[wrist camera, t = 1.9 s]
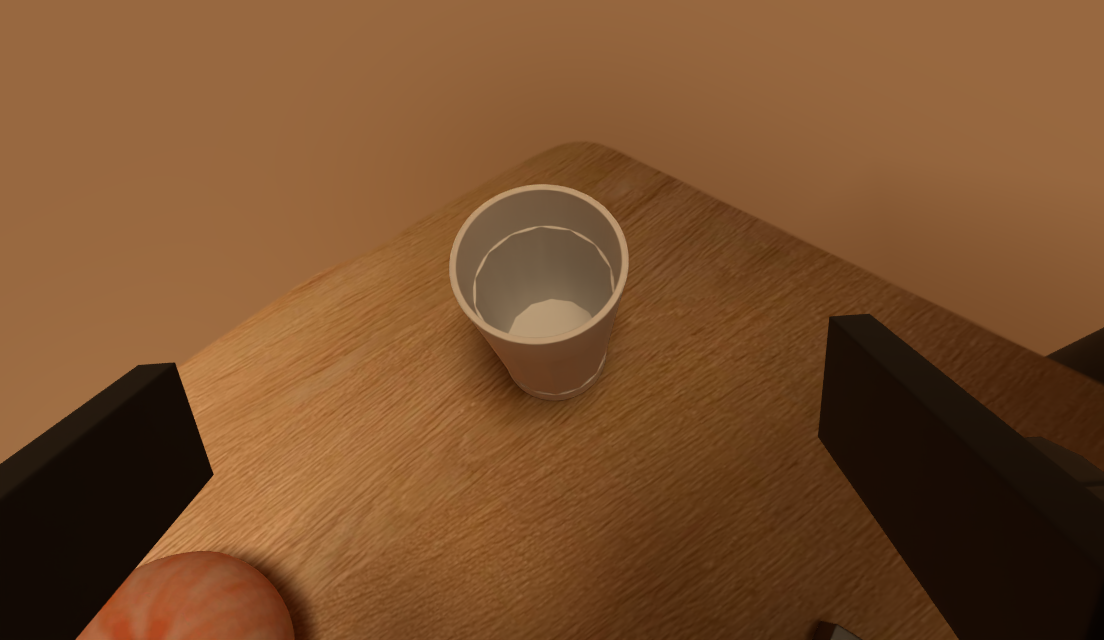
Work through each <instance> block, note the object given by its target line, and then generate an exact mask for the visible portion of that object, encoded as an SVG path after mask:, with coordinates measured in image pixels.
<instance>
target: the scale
mask: <svg viewBox="0 0 1104 640" xmlns="http://www.w3.org/2000/svg"><path fill="white" fill-rule="evenodd" d="M812 640H862V639H861V638H859V637H857V636H856V635H854V634H852V633H851V632H849V631H848V630H846V629H844V628H843V627H841V626H839V625H838V624H833V623H828V622H823V621H820V623H819V625H818V628H817V630H816V632H815V635H814V637H813V639H812Z"/></svg>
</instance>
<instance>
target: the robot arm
mask: <svg viewBox="0 0 1104 640" xmlns="http://www.w3.org/2000/svg"><path fill="white" fill-rule="evenodd" d="M818 438H819V439H820V440H821V442H822V443H823V445H824V446H825V448H826V449H827V450H828V452H829V453H830V455H831V456H832V458H833V459H834V460H835V462H836V463H837V465H838V466H839V468H840V469H841V471H842V472H843V473H844V475H845V476H846V478H847V479H848V481H849V482H850V483H851V485H852V486H853V488H854V489H855V491H856V492H857V493H858V495H859V496H860V498H861V499H862V501H863V502H864V504H865V505H866V506H867V508H868V509H869V511H870V512H871V514H872V515H873V516H874V518H875V519H876V521H877V522H878V524H879V525H880V526H881V528H882V529H883V531H884V532H885V534H886V535H887V537H888V538H889V539H890V541H891V542H892V544H893V545H894V547H895V548H896V549H897V551H898V552H899V554H900V555H901V557H902V558H903V559H904V561H905V562H906V564H907V565H908V567H909V568H910V570H911V571H912V572H913V574H914V575H915V577H916V578H917V580H918V581H919V582H920V584H921V585H922V587H923V588H924V590H925V591H926V592H927V594H928V595H929V597H930V598H931V600H932V601H933V603H934V604H935V605H936V607H937V608H938V610H939V611H940V613H941V614H942V615H943V617H944V618H945V620H946V621H947V623H948V624H949V625H950V627H951V628H952V630H953V631H954V633H955V634H956V636H957V637H958V638H959V640H1104V472H1103V471H1101V470H1100V469H1099V468H1097V467H1096V466H1095V465H1093V464H1092V463H1091V462H1089V461H1088V460H1087V459H1085V458H1084V457H1083V456H1081V455H1079V454H1076V453H1074V452H1072V451H1070V450H1068V449H1066V448H1064V447H1062V446H1059V445H1057V444H1055V443H1053V442H1051V441H1049V440H1047V439H1044V438H1042V437H1027V438H1024V437H1022V436H1021V435H1020V434H1019V433H1017V432H1016V431H1015V430H1014V429H1012V428H1011V427H1010V426H1009V425H1007V424H1006V423H1005V422H1004V421H1002V420H1001V419H1000V418H999V417H997V416H996V415H995V414H994V413H992V412H991V411H990V410H989V409H987V408H986V407H985V406H984V405H982V404H981V403H980V402H979V401H977V400H976V399H975V398H974V397H972V396H971V395H970V394H969V393H967V392H966V391H965V390H964V389H962V388H961V387H960V386H959V385H957V384H956V383H955V382H954V381H953V380H951V379H950V378H949V377H948V376H946V375H945V374H944V373H943V372H941V371H940V370H939V369H938V368H936V367H935V366H934V365H933V364H931V363H930V362H929V361H928V360H926V359H925V358H924V357H923V356H921V355H920V354H919V353H918V352H916V351H915V350H914V349H913V348H911V347H910V346H909V345H908V344H906V343H905V342H904V341H903V340H901V339H900V338H899V337H898V336H896V335H895V334H894V333H893V332H891V331H890V330H889V329H888V328H886V327H885V326H884V325H883V324H881V323H880V322H879V321H878V320H877V319H875V318H874V317H873V316H872V315H870V314H859V315H845V316H831V317H829V327H828V338H827V348H826V359H825V369H824V380H823V390H822V401H821V411H820V422H819V432H818ZM213 475H214V474H213V471H212V469H211V466H210V463H209V460H208V457H207V454H206V451H205V448H204V445H203V442H202V440H201V437H200V434H199V431H198V428H197V425H196V422H195V419H194V416H193V414H192V411H191V408H190V405H189V402H188V399H187V396H186V393H185V390H184V387H183V385H182V382H181V379H180V376H179V373H178V370H177V367H176V364H175V363H162V364H148V365H138V366H136V367H135V368H134V369H132V370H131V371H129V372H128V373H127V374H125V375H124V376H122V377H121V378H120V379H118V380H117V381H115V382H114V383H113V384H111V385H110V386H109V387H107V388H106V389H104V390H103V391H101V392H100V393H99V394H97V395H96V396H95V397H93V398H92V399H91V400H89V401H88V402H86V403H85V404H83V405H82V406H81V407H79V408H78V409H76V410H75V411H74V412H72V413H71V414H69V415H68V416H67V417H65V418H64V419H62V420H61V421H60V422H58V423H57V424H56V425H54V426H53V427H51V428H50V429H49V430H47V431H46V432H44V433H43V434H42V435H40V436H39V437H38V438H36V439H35V440H33V441H32V442H31V443H29V444H28V445H26V446H25V447H23V448H22V449H21V450H19V451H18V452H16V453H15V454H14V455H12V456H11V457H9V458H8V459H7V460H5V461H4V462H3V463H1V464H0V640H76V638H77V637H78V636H79V635H80V634H81V632H82V631H83V630H84V629H85V628H86V626H87V625H88V624H89V623H90V622H91V621H92V619H93V618H94V617H95V616H96V615H97V613H98V612H99V611H100V610H101V609H102V607H103V606H104V605H105V604H106V603H107V601H108V600H109V599H110V598H111V597H112V595H113V594H114V593H115V592H116V591H117V590H118V588H119V587H120V586H121V585H122V584H123V582H124V581H125V580H126V579H127V578H128V576H129V575H130V574H131V573H132V572H133V570H134V569H135V568H136V567H137V566H138V564H139V563H140V562H141V561H142V560H143V558H144V557H145V556H146V555H147V554H148V553H149V551H150V550H151V549H152V548H153V547H154V545H155V544H156V543H157V542H158V541H159V539H160V538H161V537H162V536H163V535H164V533H165V532H166V531H167V530H168V529H169V527H170V526H171V525H172V524H173V523H174V522H175V520H176V519H177V518H178V517H179V516H180V514H181V513H182V512H183V511H184V510H185V508H186V507H187V506H188V505H189V504H190V502H191V501H192V500H193V499H194V498H195V496H196V495H197V494H198V493H199V492H200V490H201V489H202V488H203V487H204V486H205V485H206V483H207V482H208V481H209V480H210V479H211V477H212V476H213Z"/></svg>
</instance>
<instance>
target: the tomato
mask: <svg viewBox="0 0 1104 640" xmlns="http://www.w3.org/2000/svg"><path fill="white" fill-rule="evenodd" d="M76 640H295V639H294V630H293V625H292V621H291V618H290V615H289V612H288V609H287V607H286V605H285V603H284V601H283V599H282V597H281V596H280V594H279V593H278V591H277V590H276V589H275V587H274V586H273V585H272V584H271V583H270V582H269V580H268V579H267V578H265V577H264V576H263V575H262V574H261V573H260V572H259V571H258V570H256V569H255V568H254V567H252V566H251V565H249V564H248V563H246V562H244V561H242V560H240V559H238V558H235V557H232V556H230V555H227V554H223V553H218V552H211V551H197V552H187V553H181V554H175V555H171V556H168V557H164V558H161V559H157V560H155V561H152V562H150V563H148V564H145V565H143V566H141V567H139V568H136V569H134V570H133V572H132V573H131V574H130V575H129V576H128V578H127V579H126V580H125V581H124V582H123V584H122V585H121V586H120V587H119V588H118V590H117V591H116V592H115V593H114V594H113V595H112V597H111V598H110V599H109V600H108V601H107V603H106V604H105V605H104V606H103V607H102V609H101V610H100V611H99V612H98V613H97V615H96V616H95V617H94V618H93V619H92V621H91V622H90V623H89V624H88V625H87V626H86V628H85V629H84V630H83V631H82V632H81V634H80V635H79V636H78V637H77V638H76Z"/></svg>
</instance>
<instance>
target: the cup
mask: <svg viewBox="0 0 1104 640" xmlns="http://www.w3.org/2000/svg"><path fill="white" fill-rule="evenodd" d="M628 267H629V256H628V248H627V244H626V240H625V237H624V234H623V232H622V230H621V228H620V226H619V224H618V223H617V221H616V220H615V218H614V217H613V216H612V215H611V213H610V212H609V211H608V210H607V209H606V208H605V207H604V206H602V205H601V204H600V203H599V202H597V201H596V200H594V199H593V198H591V197H590V196H588V195H586V194H584V193H582V192H579V191H577V190H574V189H571V188H567V187H563V186H557V185H545V184H540V185H529V186H523V187H518V188H515V189H511V190H508V191H506V192H503V193H501V194H499V195H497V196H495V197H493V198H492V199H490V200H488V201H487V202H485V203H484V204H483V205H481V206H480V207H479V208H478V209H477V210H476V211H474V212H473V213H472V214H471V216H470V217H469V218H468V219H467V220H466V222H465V223H464V224H463V226H462V227H461V229H460V231H459V232H458V234H457V236H456V239H455V241H454V244H453V247H452V250H451V255H450V262H449V274H450V281H451V286H452V289H453V292H454V295H455V297H456V299H457V301H458V303H459V305H460V307H461V308H462V310H463V311H464V312H465V313H466V315H467V316H468V317H469V319H470V320H471V321H472V322H473V324H474V325H475V326H476V328H477V329H478V330H479V331H480V333H481V334H482V335H483V336H484V338H485V339H486V340H487V341H488V343H489V344H490V346H491V347H492V348H493V350H494V351H495V353H496V354H497V355H498V357H499V358H500V359H501V361H502V362H503V364H504V365H505V366H506V368H507V369H508V372H509V374H510V376H511V377H512V379H513V380H514V382H515V383H516V384H517V385H518V386H519V387H520V388H521V389H522V390H524V391H525V392H526V393H528V394H530V395H532V396H534V397H537V398H540V399H544V400H551V401H558V400H565V399H569V398H573V397H575V396H577V395H579V394H581V393H583V392H585V391H586V390H587V389H589V388H590V387H591V386H592V385H593V384H594V383H595V382H596V380H597V379H598V378H599V376H600V374H601V372H602V370H603V368H604V365H605V361H606V353H607V347H608V343H609V339H610V335H611V331H612V327H613V323H614V320H615V316H616V312H617V309H618V306H619V303H620V299H621V296H622V293H623V289H624V286H625V283H626V279H627V274H628Z"/></svg>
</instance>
